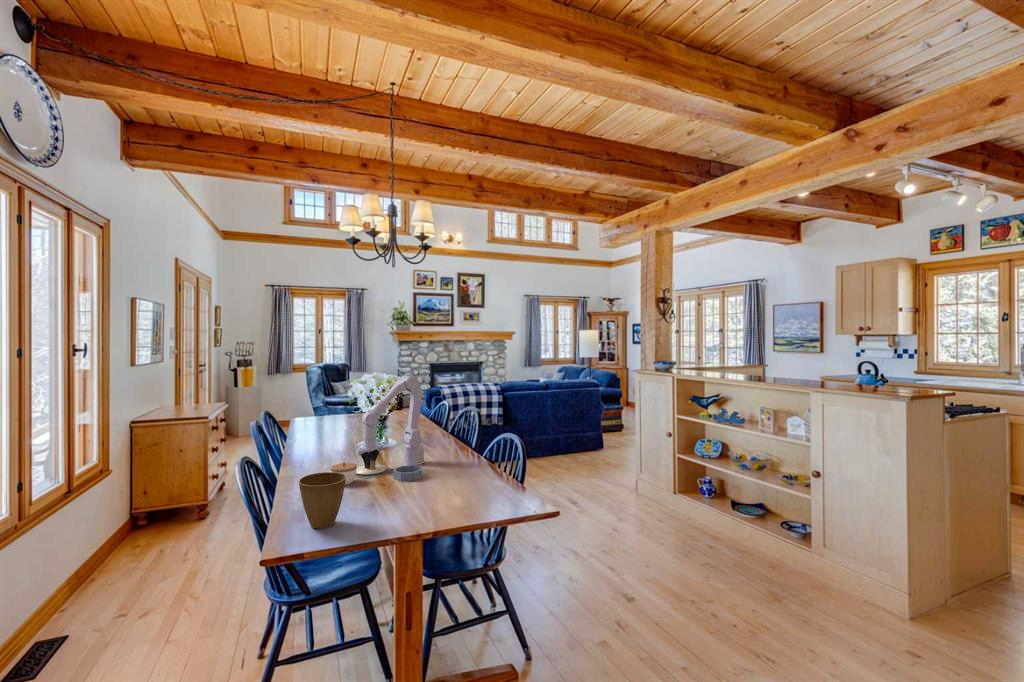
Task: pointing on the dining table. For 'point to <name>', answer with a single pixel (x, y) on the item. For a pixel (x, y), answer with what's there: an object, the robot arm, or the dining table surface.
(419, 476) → the bowl
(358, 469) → the cover
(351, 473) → the lidded jar
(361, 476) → the mat
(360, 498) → the dining table surface
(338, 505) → the plant pot
